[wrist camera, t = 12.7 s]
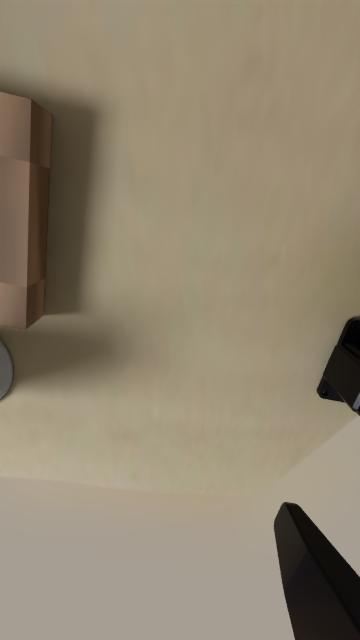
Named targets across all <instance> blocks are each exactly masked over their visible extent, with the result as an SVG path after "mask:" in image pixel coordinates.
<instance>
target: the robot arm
mask: <svg viewBox="0 0 360 640" xmlns="http://www.w3.org/2000/svg"><path fill="white" fill-rule="evenodd" d="M354 324H356V326H355V327H354V328H352V326H353V325H354ZM325 390H327V391H326V392H324V393H323V391H325ZM317 393H318V395H319V396H320V397H321V398H323V399H328V400H334V401H340V402H345V403H346V404H347V405H348V406H349V407H350V408H351V409H352V411H354V412H357V414H358V415H359V416H360V319H357V318H352V319H350V320H348V321H347V323H346V325H345V327H344V329H343V331H342V334H341V336H340V338H339V341H338V343H337V345H336V346H335V348H334V350H333V352H332V354H331V357H330V359H329V361H328V364H327V366H326V368H325V370H324V373H323V377H322V379H321V381H320V384H319V386H318V388H317ZM274 532H275V538H276V544H277V551H278V558H279V565H280V571H281V578H282V584H283V589H284V594H285V599H286V603H287V608H288V612H289V615H290V620H291V624H292V628H293V632H294V637H295V640H360V577H359V576H358V575H357V574H356V572H355V571H354V570H353V569H352V568H351V566H350V565H349V564H348V563H347V562H346V560H345V559H344V558H343V557H342V556H341V555H340V553H339V552H338V551H337V550H336V549H335V547H334V546H333V545H332V544H331V543H330V542H329V540H328V539H327V538H326V537H325V536H324V534H323V533H322V532H321V531H320V530H319V529H318V527H317V526H316V525H315V524H314V523H313V522H312V520H311V519H310V518H309V517H308V516H307V514H306V513H305V512H304V511H303V510H302V509H301V507H300V506H298V505H297V504H294V503H289V502H284V503H283V504H282V505H281V507H280V509H279V511H278V514H277V516H276V518H275V521H274Z"/></svg>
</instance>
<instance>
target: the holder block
mask: <svg viewBox="0 0 360 640" xmlns="http://www.w3.org/2000/svg"><path fill="white" fill-rule="evenodd" d="M51 135H52V114H50V113H49V112H48V111H46V110H45V109H44V108H42V107H41V106H40V105H38V104H37V103H36V102H34V101H33V100H32V99H28V98H24V97H20V96H16V95H12V94H8V93H4V92H0V325H5V326H10V327H16V328H21V329H27V328H28V327H29V326H31V325H32V324H33V323H34V322H36V321H37V320H38V319H40V318H41V317H42V316H43V313H44V291H45V269H46V246H47V224H48V202H49V180H50V157H51Z"/></svg>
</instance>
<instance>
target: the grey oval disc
mask: <svg viewBox="0 0 360 640" xmlns="http://www.w3.org/2000/svg"><path fill="white" fill-rule="evenodd" d="M12 380H13V363H12V359H11V356H10V354H9V352H8V350H7V348H6V346H5V345H4V343H3V342H2V340H1V339H0V399H1V398H2V397H3V396H4V395H5V394H6V392H7V391H8V389H9V388H10V386H11V383H12Z"/></svg>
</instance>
